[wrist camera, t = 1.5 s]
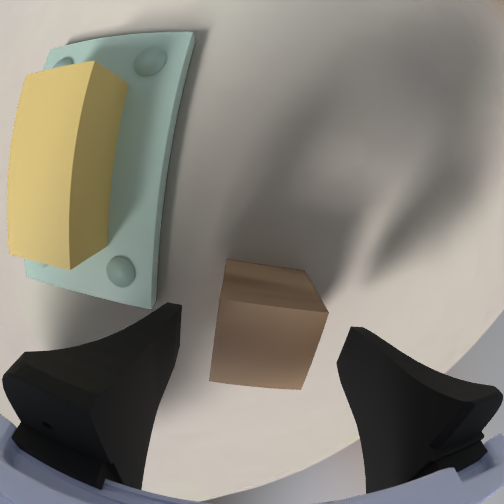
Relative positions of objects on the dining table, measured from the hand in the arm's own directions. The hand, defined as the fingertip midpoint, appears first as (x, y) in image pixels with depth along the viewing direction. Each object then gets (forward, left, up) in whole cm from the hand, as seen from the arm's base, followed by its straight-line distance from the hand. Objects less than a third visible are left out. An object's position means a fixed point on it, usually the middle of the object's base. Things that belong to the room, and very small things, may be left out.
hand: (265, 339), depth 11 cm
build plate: (+6, +10, -4) cm, 12 cm away
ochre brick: (+6, +10, -3) cm, 12 cm away
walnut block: (0, 0, -4) cm, 4 cm away
